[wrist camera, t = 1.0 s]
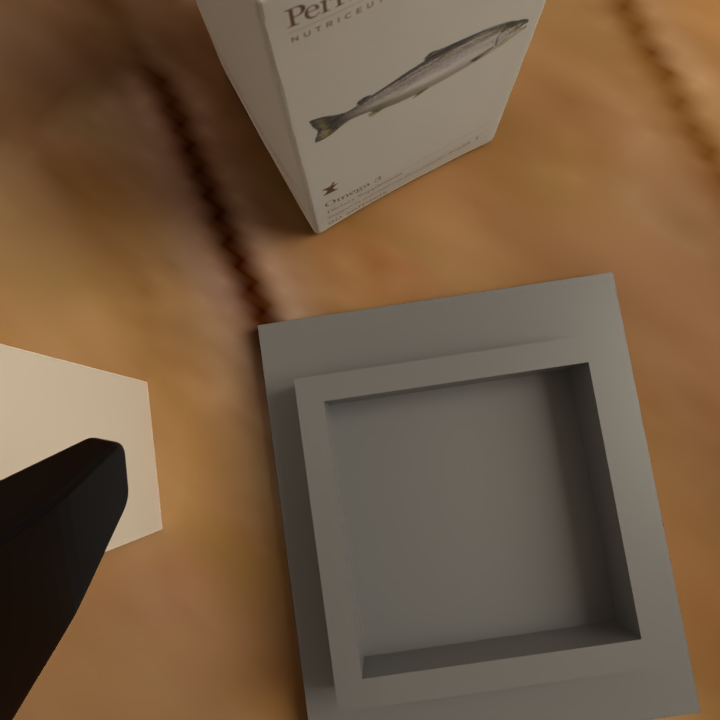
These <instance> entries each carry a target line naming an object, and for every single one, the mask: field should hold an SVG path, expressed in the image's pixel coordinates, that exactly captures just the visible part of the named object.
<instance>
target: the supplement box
mask: <svg viewBox="0 0 720 720" xmlns="http://www.w3.org/2000/svg"><path fill="white" fill-rule="evenodd" d="M195 1H196V3H197V6H198V8H199V11H200V13H201V15H202V18H203V20H204V23H205V25H206V28H207V30H208V33H209V35H210V37H211V40H212V42H213V45H214V47H215V50H216V52H217V55H218V57H219V59H220V62H221V64H222V66H223V68H224V70H225V73H226V75H227V76H228V78H229V80H230V82H231V84H232V86H233V87H234V89H235V91H236V93H237V95H238V97H239V98H240V100H241V102H242V104H243V106H244V108H245V110H246V111H247V113H248V115H249V117H250V119H251V121H252V123H253V125H254V126H255V128H256V130H257V132H258V134H259V136H260V138H261V139H262V141H263V143H264V145H265V147H266V148H267V150H268V152H269V154H270V155H271V157H272V159H273V161H274V162H275V164H276V166H277V168H278V169H279V171H280V173H281V175H282V177H283V178H284V180H285V182H286V184H287V185H288V187H289V189H290V191H291V193H292V194H293V196H294V198H295V200H296V201H297V203H298V205H299V207H300V208H301V210H302V212H303V214H304V215H305V217H306V219H307V221H308V222H309V224H310V226H311V227H312V229H313V231H314V232H315V233H321V232H323V231H325V230H326V229H328V228H330V227H331V226H333V225H334V224H336V223H338V222H339V221H341V220H343V219H345V218H346V217H348V216H350V215H351V214H353V213H355V212H356V211H358V210H360V209H361V208H363V207H365V206H367V205H369V204H370V203H372V202H374V201H376V200H377V199H379V198H381V197H383V196H384V195H386V194H388V193H390V192H392V191H394V190H396V189H398V188H399V187H401V186H403V185H405V184H407V183H409V182H411V181H412V180H414V179H416V178H418V177H420V176H422V175H424V174H426V173H428V172H430V171H432V170H434V169H435V168H437V167H439V166H441V165H443V164H445V163H447V162H449V161H451V160H453V159H455V158H457V157H459V156H461V155H463V154H465V153H467V152H469V151H471V150H473V149H475V148H477V147H479V146H482V145H484V144H486V143H488V142H490V141H491V140H492V139H493V137H494V135H495V132H496V130H497V127H498V124H499V121H500V119H501V117H502V114H503V111H504V109H505V106H506V104H507V101H508V99H509V96H510V93H511V91H512V88H513V85H514V83H515V81H516V78H517V76H518V72H519V70H520V67H521V64H522V62H523V59H524V57H525V54H526V52H527V49H528V46H529V44H530V41H531V39H532V36H533V33H534V31H535V28H536V25H537V23H538V20H539V17H540V15H541V12H542V10H543V7H544V5H545V2H546V0H195Z"/></svg>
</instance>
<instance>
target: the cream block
mask: <svg viewBox="0 0 720 720" xmlns="http://www.w3.org/2000/svg"><path fill="white" fill-rule="evenodd" d="M88 438H100V439H105V440H110V441H115V442H118V443H120V444H121V445H122V446H123V448H124V451H125V458H126V469H127V479H128V499H127V503H126V507H125V509H124V512H123V514H122V516H121V518H120V520H119V522H118V524H117V527H116V529H115V531H114V533H113V535H112V537H111V540H110V542H109V544H108V546H107V548H106V550H105V552H107V551H109V550H112V549H114V548H117V547H119V546H122V545H124V544H127V543H129V542H132V541H134V540H137V539H139V538H142V537H144V536H147V535H150V534H152V533H155V532H157V531H160V530H162V529H163V527H162V518H161V508H160V499H159V489H158V479H157V470H156V460H155V451H154V441H153V432H152V422H151V413H150V403H149V394H148V384H147V382H145V381H142V380H138V379H134V378H130V377H126V376H122V375H118V374H115V373H111V372H107V371H103V370H99V369H95V368H92V367H88V366H84V365H80V364H76V363H72V362H68V361H65V360H61V359H57V358H53V357H49V356H45V355H41V354H38V353H34V352H30V351H26V350H22V349H18V348H14V347H11V346H7V345H3V344H0V480H2V479H4V478H6V477H8V476H10V475H12V474H14V473H17V472H19V471H21V470H23V469H25V468H27V467H29V466H31V465H33V464H35V463H37V462H39V461H41V460H44V459H46V458H48V457H50V456H52V455H54V454H56V453H58V452H60V451H62V450H64V449H66V448H68V447H70V446H73V445H75V444H77V443H79V442H81V441H83V440H85V439H88Z"/></svg>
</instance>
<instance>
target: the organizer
mask: <svg viewBox="0 0 720 720" xmlns="http://www.w3.org/2000/svg"><path fill="white" fill-rule="evenodd" d="M258 332H259V339H260V347H261V355H262V363H263V371H264V378H265V386H266V394H267V402H268V410H269V418H270V425H271V433H272V441H273V449H274V457H275V464H276V472H277V480H278V488H279V496H280V504H281V511H282V519H283V527H284V535H285V543H286V550H287V558H288V566H289V574H290V582H291V589H292V597H293V605H294V613H295V621H296V629H297V636H298V644H299V652H300V660H301V668H302V675H303V683H304V691H305V699H306V707H307V714H308V720H648V719H655V718H662V717H669V716H676V715H683V714H691V713H698V712H700V708H699V703H698V698H697V693H696V688H695V683H694V678H693V673H692V668H691V663H690V658H689V653H688V648H687V643H686V638H685V633H684V627H683V622H682V617H681V612H680V607H679V602H678V597H677V592H676V587H675V582H674V577H673V572H672V567H671V562H670V557H669V552H668V547H667V542H666V537H665V532H664V527H663V522H662V517H661V512H660V507H659V502H658V497H657V492H656V487H655V482H654V477H653V472H652V467H651V462H650V457H649V452H648V447H647V442H646V437H645V432H644V427H643V422H642V417H641V412H640V407H639V402H638V397H637V392H636V387H635V382H634V377H633V372H632V367H631V362H630V357H629V352H628V347H627V342H626V337H625V332H624V327H623V322H622V317H621V312H620V307H619V302H618V297H617V292H616V287H615V281H614V276H613V272H611V273H604V274H597V275H591V276H584V277H577V278H571V279H564V280H557V281H551V282H544V283H537V284H530V285H524V286H517V287H510V288H504V289H497V290H490V291H484V292H477V293H470V294H464V295H457V296H450V297H444V298H437V299H430V300H424V301H417V302H410V303H404V304H397V305H390V306H384V307H377V308H370V309H364V310H357V311H350V312H343V313H337V314H330V315H323V316H317V317H310V318H303V319H297V320H290V321H283V322H277V323H270V324H263V325H258Z"/></svg>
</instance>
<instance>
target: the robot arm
mask: <svg viewBox="0 0 720 720" xmlns="http://www.w3.org/2000/svg"><path fill="white" fill-rule="evenodd" d="M127 499H128V479H127V469H126V458H125V451H124V448H123V446H122V445H121V444H120V443H118V442H115V441H110V440H105V439H100V438H88V439H85V440H83V441H81V442H79V443H77V444H75V445H73V446H70V447H68V448H66V449H64V450H62V451H60V452H58V453H56V454H54V455H52V456H50V457H48V458H46V459H44V460H41V461H39V462H37V463H35V464H33V465H31V466H29V467H27V468H25V469H23V470H21V471H19V472H17V473H14V474H12V475H10V476H8V477H6V478H4V479H2V480H0V720H12V719H13V718H14V716H15V714H16V713H17V711H18V709H19V708H20V706H21V704H22V703H23V701H24V700H25V698H26V696H27V695H28V693H29V691H30V690H31V688H32V686H33V685H34V683H35V681H36V680H37V678H38V676H39V675H40V673H41V671H42V670H43V668H44V666H45V665H46V663H47V661H48V660H49V658H50V656H51V655H52V653H53V651H54V650H55V648H56V646H57V645H58V643H59V641H60V640H61V638H62V636H63V635H64V633H65V631H66V630H67V628H68V626H69V624H70V623H71V621H72V619H73V617H74V616H75V614H76V612H77V610H78V608H79V606H80V604H81V602H82V600H83V598H84V596H85V593H86V591H87V589H88V587H89V585H90V583H91V581H92V578H93V576H94V574H95V572H96V570H97V568H98V565H99V563H100V561H101V559H102V557H103V555H104V553H105V550H106V548H107V546H108V544H109V542H110V540H111V537H112V535H113V533H114V531H115V529H116V527H117V524H118V522H119V520H120V518H121V516H122V514H123V512H124V509H125V507H126V503H127Z"/></svg>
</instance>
